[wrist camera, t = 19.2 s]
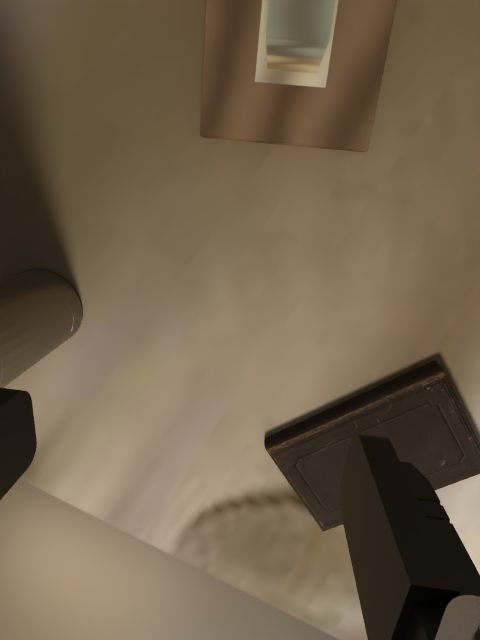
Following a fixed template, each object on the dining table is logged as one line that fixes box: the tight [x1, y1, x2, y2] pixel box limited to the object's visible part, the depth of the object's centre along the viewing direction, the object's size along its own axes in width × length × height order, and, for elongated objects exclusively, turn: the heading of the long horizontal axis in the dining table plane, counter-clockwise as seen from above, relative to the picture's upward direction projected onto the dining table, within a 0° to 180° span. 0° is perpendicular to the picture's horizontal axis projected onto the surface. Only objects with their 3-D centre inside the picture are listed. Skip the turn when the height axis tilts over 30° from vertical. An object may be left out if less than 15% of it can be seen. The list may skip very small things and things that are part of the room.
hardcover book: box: [264, 361, 480, 531], centre depth 47 cm, size 16×23×2 cm
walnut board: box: [200, 0, 397, 152], centre depth 33 cm, size 16×16×2 cm
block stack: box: [266, 0, 335, 74], centre depth 29 cm, size 4×4×8 cm
